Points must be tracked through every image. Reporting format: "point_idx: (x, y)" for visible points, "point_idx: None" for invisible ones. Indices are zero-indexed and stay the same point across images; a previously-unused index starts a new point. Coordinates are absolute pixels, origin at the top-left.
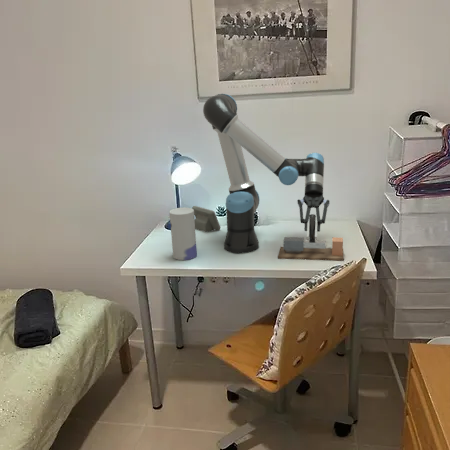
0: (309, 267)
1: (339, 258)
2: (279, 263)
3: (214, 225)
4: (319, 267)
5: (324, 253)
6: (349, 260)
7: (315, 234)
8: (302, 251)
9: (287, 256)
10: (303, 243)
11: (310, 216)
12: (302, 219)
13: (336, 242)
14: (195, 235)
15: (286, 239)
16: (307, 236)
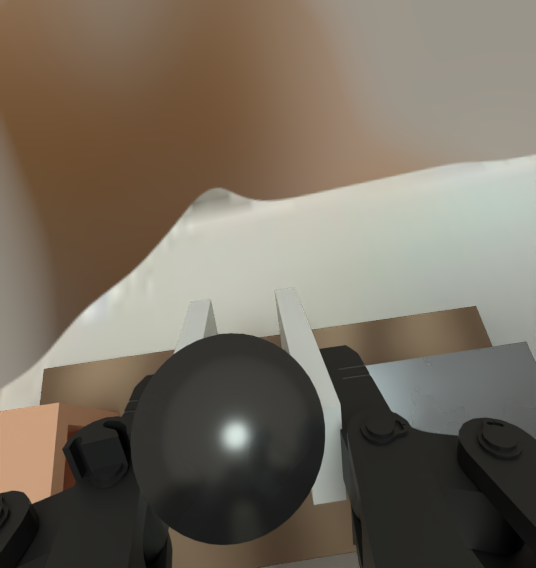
0: (249, 235)
1: (72, 365)
2: (425, 247)
3: None
4: (196, 247)
5: None
6: (15, 389)
7: (202, 312)
8: None
9: (414, 317)
10: None
11: (277, 352)
12: (477, 438)
13: (25, 410)
14: None
15: (515, 381)
16: (288, 288)
